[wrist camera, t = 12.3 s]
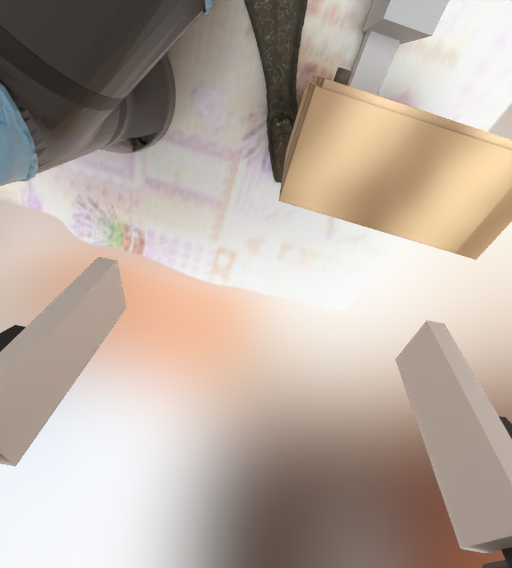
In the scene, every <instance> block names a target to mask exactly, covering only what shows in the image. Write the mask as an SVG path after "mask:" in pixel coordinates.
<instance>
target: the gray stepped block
mask: <svg viewBox="0 0 512 568" xmlns="http://www.w3.org/2000/svg"><path fill="white" fill-rule="evenodd" d="M448 2H449V0H373V2H372V5H371V8H370V10H369V13H368V16H367V18H366V21H365V24H364V26H363V29H362V32H363V33H366V35H365V38H364V40H363V43H362V46H361V48H360V51H359V53H358V56H357V59H356V61H355V64H354V67H353V69H352V75H351V78H350V80H349V83H348V85H347V86H349V87H352V88H355V89H359V90H362V91H365V92H368V93H371V94H374V95H377V93H378V91H379V88H380V86H381V84H382V82H383V79H384V77H385V75H386V73H387V70H388V68H389V66H390V64H391V61H392V59H393V57H394V55H395V52H396V50H397V48H398V46H399V44H403V43H406V42H410V41H414V40H417V39H421V38H425V37H428V36H432V34H433V32H434V30H435V28H436V26H437V24H438V22H439V20H440V18H441V16H442V14H443V12H444V10H445V8H446V6H447V4H448Z"/></svg>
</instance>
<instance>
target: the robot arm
mask: <svg viewBox="0 0 512 568" xmlns="http://www.w3.org/2000/svg"><path fill="white" fill-rule="evenodd" d="M212 3H213V0H0V186H2V185H5V184H8V183H12V182H16V181H27V180H29V179H31V178H33V177H35V175H36V174H38V173H40V172H43V171H45V170H48V169H50V168H53V167H56V166H58V165H61V164H63V163H66V162H68V161H71V160H73V159H76V158H78V157H81V156H83V155H86V154H88V153H91V152H93V151H96V150H98V149H100V150H106V151H111V152H116V153H132V152H137V151H140V150H143V149H145V148H147V147H149V146H151V145H153V144H154V143H156V142H157V141H158V140H159V139H160V138H161V137H162V136H163V135H164V134H165V132H166V131H167V129H168V127H169V125H170V123H171V120H172V117H173V113H174V107H175V84H174V78H173V73H172V69H171V65H170V62H169V59H168V57H167V54H166V52H167V51H168V50H169V49H170V48H171V47H172V46H173V45H174V43H175V42H176V41H177V40H178V39H179V38H180V37H181V36H182V35H183V33H184V32H185V31H186V30H187V29H188V28H189V27H190V26H191V25H192V24H193V22H194V21H195V20H196V19H197V18H198V17H199V16H200V15H201V14H202V12H203V14H204V15H207V14H208V13H209V12H210V10H211V8H212ZM125 309H126V303H125V298H124V293H123V288H122V283H121V278H120V274H119V268H118V264H117V260H111V259H106V258H101V257H98V258H97V259H96V260H95V261H94V262H93V263H92V264H91V265H90V266H89V267H88V268H87V269H86V270H85V271H84V272H83V273H82V274H81V275H80V276H78V277H77V278H76V280H74V281H73V282H72V283H71V284H70V285H69V286H68V287H67V288H66V289H65V290H64V291H63V292H62V293H61V294H60V295H59V296H58V297H57V298H56V299H55V300H54V301H53V302H52V303H51V304H50V305H49V306H47V307H46V308H45V309H44V310H43V311H42V312H41V313H40V314H39V315H38V316H37V317H36V318H35V319H34V320H33V321H32V322H31V323H30V324H29V325H28V326H27V327H23V326H18V325H15V326H13V327H11V328H9V329H7V330H5V331H3V332H2V333H0V463H1V464H6V465H11V466H16V465H17V463H18V462H19V461H20V459H21V458H22V456H23V455H24V453H25V452H26V451H27V449H28V448H29V446H30V445H31V443H32V442H33V441H34V439H35V438H36V436H37V435H38V434H39V432H40V430H41V429H42V428H43V426H44V425H45V424H46V422H47V421H48V419H49V418H50V416H51V415H52V413H53V412H54V411H55V409H56V408H57V406H58V405H59V404H60V402H61V400H62V399H63V398H64V396H65V395H66V394H67V392H68V391H69V389H70V388H71V386H72V385H73V384H74V382H75V381H76V379H77V378H78V376H79V375H80V373H81V372H82V371H83V369H84V368H85V366H86V365H87V364H88V362H89V361H90V359H91V358H92V356H93V355H94V353H95V352H96V351H97V349H98V348H99V346H100V345H101V344H102V342H103V341H104V339H105V338H106V336H107V335H108V334H109V332H110V331H111V329H112V328H113V326H114V325H115V324H116V322H117V321H118V319H119V318H120V316H121V315H122V313H123V312H124V311H125ZM396 362H397V365H398V368H399V371H400V374H401V377H402V380H403V383H404V386H405V389H406V391H407V394H408V397H409V400H410V403H411V406H412V409H413V412H414V415H415V418H416V421H417V423H418V426H419V429H420V432H421V435H422V438H423V441H424V444H425V447H426V450H427V452H428V455H429V458H430V461H431V464H432V467H433V470H434V473H435V476H436V479H437V482H438V485H439V487H440V490H441V493H442V496H443V499H444V502H445V505H446V508H447V511H448V514H449V516H450V519H451V522H452V525H453V528H454V531H455V534H456V537H457V540H458V543H459V546H460V548H461V549H466V550H472V551H477V552H482V553H489V552H494V551H499V550H502V552H503V555H504V557H505V559H506V560H503V561H497V562H491V563H487V564H484V565H483V568H512V424H511V423H510V422H509V421H508V420H507V419H506V418H505V417H500V416H498V415H497V413H496V411H495V410H494V408H493V406H492V404H491V403H490V401H489V400H488V398H487V396H486V394H485V392H484V391H483V389H482V387H481V385H480V384H479V382H478V380H477V379H476V377H475V375H474V373H473V372H472V370H471V368H470V367H469V365H468V363H467V361H466V360H465V358H464V357H463V355H462V353H461V351H460V350H459V348H458V346H457V344H456V343H455V341H454V339H453V338H452V336H451V334H450V333H449V331H448V329H447V327H446V326H445V324H442V323H437V322H432V321H426V322H425V323H424V325H423V326H422V327H421V328H420V330H419V331H418V332H417V333H416V335H415V336H414V337H413V338H412V340H411V341H410V342H409V343H408V344H407V346H406V347H405V348H404V349H403V351H402V352H401V353H400V354H399V356H398V357H397V358H396Z"/></svg>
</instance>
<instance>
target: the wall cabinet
mask: <svg viewBox="0 0 512 568" xmlns="http://www.w3.org/2000/svg"><path fill="white" fill-rule="evenodd" d="M351 75H352V72H351V71H349V70H346V69H343V68H339V67H338V70H337V73H336V76H335V78H334V81H331V80H328V79H325V78H321V77H317V76H314V77H313V81H309V80H307V83H306V86H305V90H304V93H303V96H302V100H301V103H300V106H299V110H298V113H297V116H296V120H295V123H294V126H293V130H292V133H291V136H290V140H289V143H288V146H287V150H286V156H285V163H284V170H283V176H282V183H281V190H280V197H279V201H282V202H285V203H288V204H292V205H295V206H298V207H302V208H305V209H308V210H312V211H315V212H318V213H322V214H325V215H328V216H332V217H335V218H338V219H342V220H345V221H348V222H352V223H355V224H358V225H362V226H365V227H369V228H372V229H375V230H379V231H382V232H385V233H389V234H392V235H395V236H399V237H402V238H405V239H409V240H412V241H416V242H419V243H422V244H425V245H429V246H432V247H435V248H439V249H442V250H446V251H449V252H452V253H456V254H459V255H462V256H466V257H469V258H472V259H477V258H478V257H479V256H480V255H481V254H482V253H483V252H484V250H485V249H486V248H487V247H488V246H489V245H490V244H491V243H492V242H493V241H494V240H495V239H496V238H497V236H498V235H499V234H500V233H501V232H502V231H503V230H504V229H505V228H506V227H507V226H508V225H509V223H510V222H511V221H512V140H509V139H506V138H503V137H500V136H497V135H494V134H491V133H488V132H485V131H482V130H479V129H476V128H473V127H470V126H467V125H464V124H461V123H458V122H455V121H452V120H449V119H446V118H443V117H440V116H437V115H434V114H431V113H428V112H425V111H422V110H419V109H416V108H413V107H410V106H407V105H404V104H401V103H398V102H395V101H392V100H389V99H386V98H383V97H380V96H377V95H374V94H371V93H368V92H365V91H362V90H359V89H355V88H352V87H349V86H347V85H348V83H349V80H350V78H351Z"/></svg>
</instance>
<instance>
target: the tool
mask: <svg viewBox="0 0 512 568" xmlns="http://www.w3.org/2000/svg"><path fill="white" fill-rule="evenodd" d="M245 4H246V7H247V10H248V13H249V16H250V19H251V22H252V26H253V29H254V32H255V36H256V39H257V43H258V49H259V51H260V55H261V60H262V65H263V70H264V75H265V80H266V89H267V102H268V106H267V107H268V115H267V128H268V130H267V133H268V139H269V151H270V158H271V164H272V170H273V176H274V179H275V181H276V182H280V183H282V176H283V170H284V163H285V156H286V150H287V146H288V143H289V140H290V136H291V133H292V130H293V126H294V123H295V120H296V116H297V100H296V73H297V63H298V54H299V53H298V52H299V47H300V41H301V32H302V27H303V25H304V18H305V12H306V7H307V0H245Z"/></svg>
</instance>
